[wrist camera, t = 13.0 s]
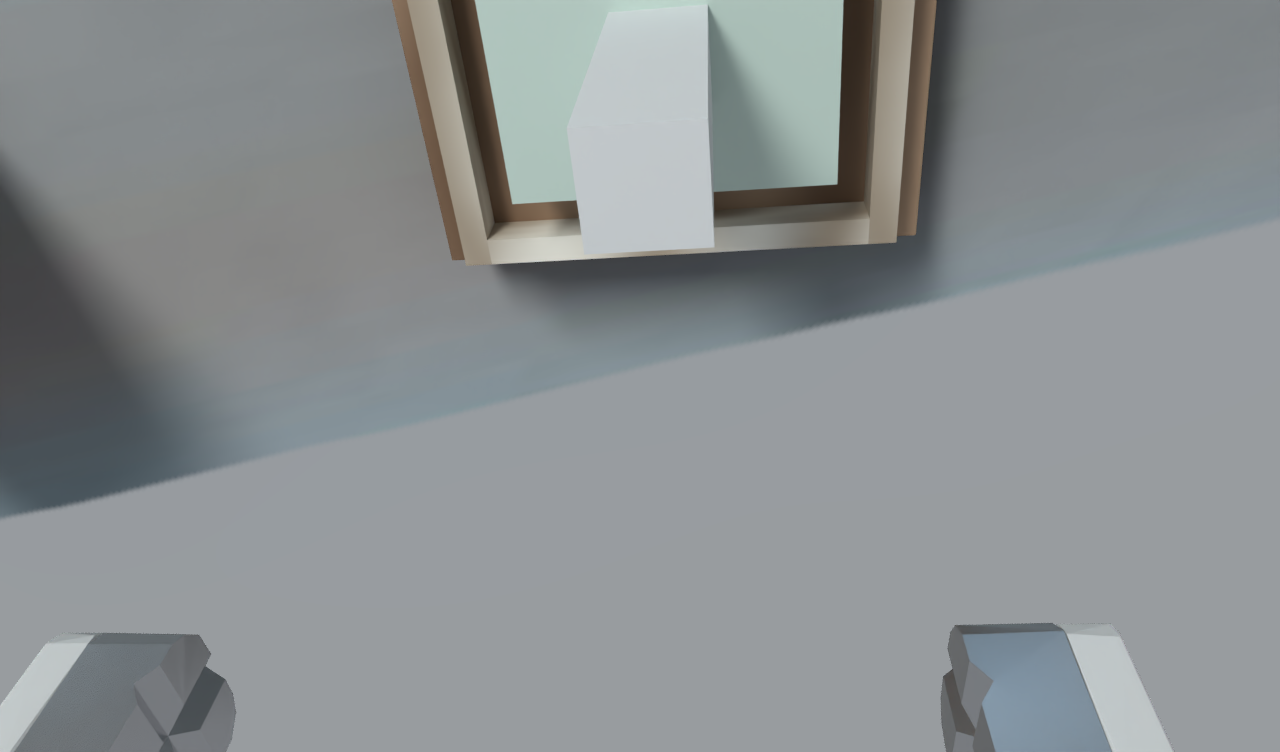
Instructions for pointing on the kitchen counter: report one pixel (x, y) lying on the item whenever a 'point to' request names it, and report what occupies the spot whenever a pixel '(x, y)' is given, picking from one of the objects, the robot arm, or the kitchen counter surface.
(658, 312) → the kitchen counter surface
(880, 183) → the tray
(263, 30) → the kitchen counter surface
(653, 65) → the mint green slab
